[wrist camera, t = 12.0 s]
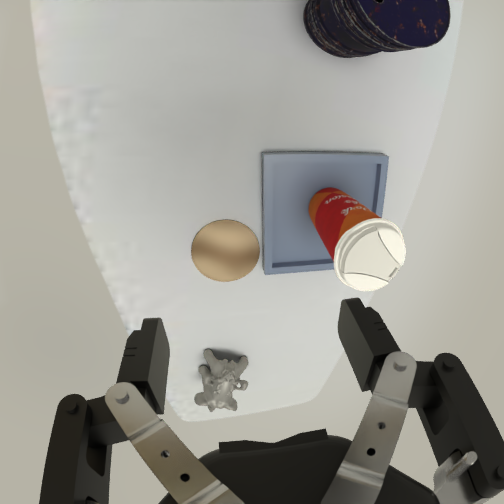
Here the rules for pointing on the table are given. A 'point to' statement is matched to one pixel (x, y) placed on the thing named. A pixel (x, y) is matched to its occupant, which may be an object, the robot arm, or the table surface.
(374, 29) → the storage jar
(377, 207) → the tray
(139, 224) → the table surface
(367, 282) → the paper cup
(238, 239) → the cork coaster
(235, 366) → the elephant statuette
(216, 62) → the table surface
